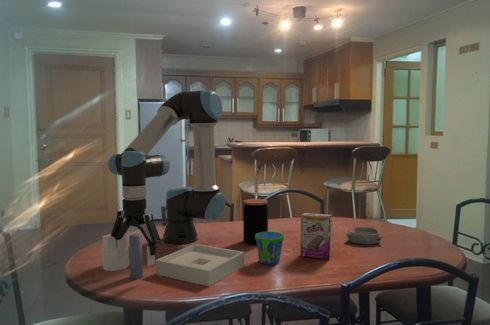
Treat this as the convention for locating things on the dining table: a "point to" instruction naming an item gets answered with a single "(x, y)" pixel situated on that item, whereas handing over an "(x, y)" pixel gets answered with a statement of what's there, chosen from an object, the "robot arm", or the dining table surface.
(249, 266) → the dining table surface
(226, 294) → the dining table surface
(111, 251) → the white stepped block
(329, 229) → the candy bar box
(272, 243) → the snack cup
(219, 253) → the beige square tray
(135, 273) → the peg
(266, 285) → the dining table surface
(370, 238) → the dish
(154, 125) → the robot arm
